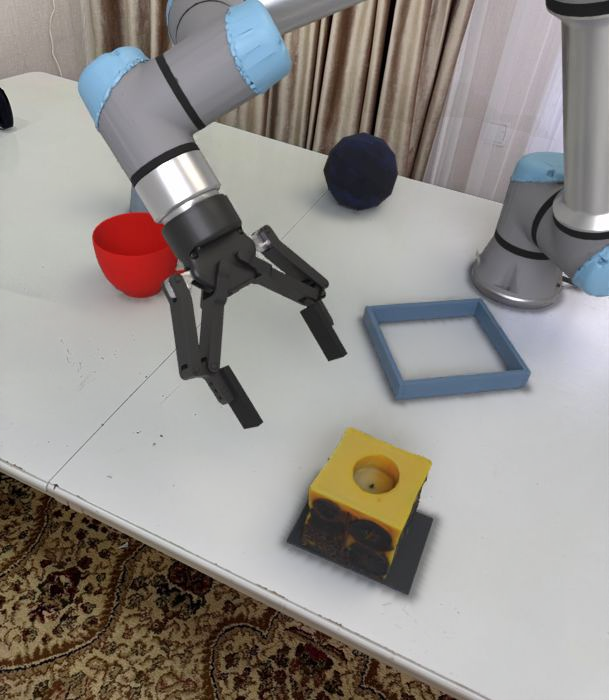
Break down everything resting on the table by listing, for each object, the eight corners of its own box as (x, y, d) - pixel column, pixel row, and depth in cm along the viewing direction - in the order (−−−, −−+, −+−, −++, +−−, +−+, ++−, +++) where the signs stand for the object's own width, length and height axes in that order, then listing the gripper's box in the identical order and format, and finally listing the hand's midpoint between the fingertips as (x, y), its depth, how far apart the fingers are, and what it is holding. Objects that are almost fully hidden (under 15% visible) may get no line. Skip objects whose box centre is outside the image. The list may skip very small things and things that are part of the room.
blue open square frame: (476, 312, 102) (481, 297, 100) (525, 387, 90) (531, 372, 88) (362, 320, 99) (365, 305, 97) (396, 400, 86) (399, 385, 84)
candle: (298, 544, 68) (304, 489, 61) (336, 478, 75) (345, 423, 68) (385, 586, 65) (401, 534, 58) (416, 514, 72) (434, 459, 65)
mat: (286, 542, 68) (287, 540, 68) (321, 476, 75) (321, 474, 75) (408, 595, 65) (408, 593, 65) (432, 520, 72) (433, 518, 72)
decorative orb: (319, 156, 131) (327, 116, 116) (389, 159, 132) (406, 120, 117) (319, 219, 128) (326, 187, 114) (390, 222, 129) (407, 190, 115)
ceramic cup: (191, 320, 96) (188, 266, 89) (87, 303, 97) (76, 248, 91) (215, 274, 106) (213, 222, 99) (120, 258, 107) (112, 206, 100)
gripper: (257, 184, 72) (346, 340, 75) (71, 271, 57) (193, 462, 60) (294, 155, 66) (389, 326, 69) (98, 244, 51) (231, 457, 54)
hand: (298, 390), depth 65 cm, fingers open, 13 cm apart
